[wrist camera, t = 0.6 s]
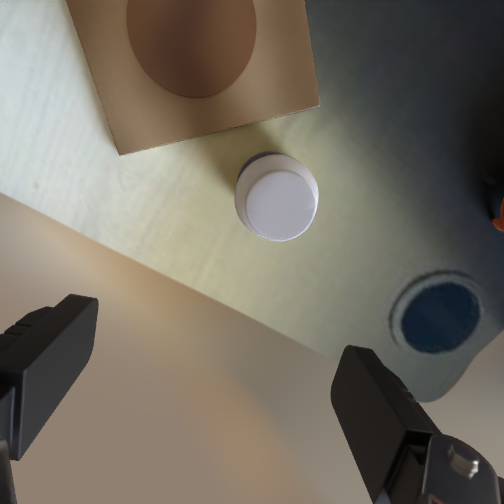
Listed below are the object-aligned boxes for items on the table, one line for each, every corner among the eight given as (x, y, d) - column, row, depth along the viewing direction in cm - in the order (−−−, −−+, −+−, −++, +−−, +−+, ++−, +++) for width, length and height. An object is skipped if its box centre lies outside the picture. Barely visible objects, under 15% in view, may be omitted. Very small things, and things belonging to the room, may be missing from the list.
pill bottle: (223, 185, 27) (211, 207, 18) (269, 136, 26) (281, 133, 17) (268, 229, 28) (279, 271, 19) (314, 184, 27) (349, 206, 18)
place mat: (283, -123, 21) (285, -137, 20) (318, 107, 25) (321, 105, 24) (50, -56, 22) (41, -66, 21) (122, 155, 26) (117, 155, 25)
